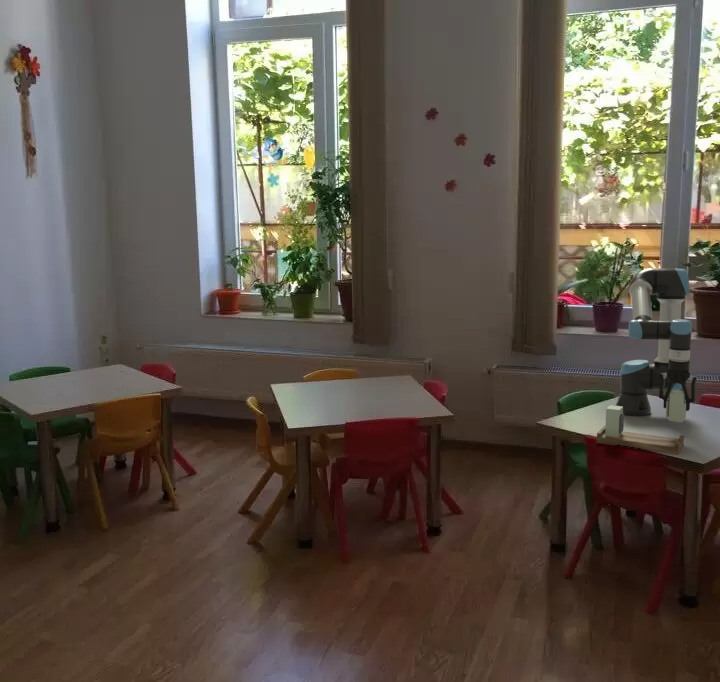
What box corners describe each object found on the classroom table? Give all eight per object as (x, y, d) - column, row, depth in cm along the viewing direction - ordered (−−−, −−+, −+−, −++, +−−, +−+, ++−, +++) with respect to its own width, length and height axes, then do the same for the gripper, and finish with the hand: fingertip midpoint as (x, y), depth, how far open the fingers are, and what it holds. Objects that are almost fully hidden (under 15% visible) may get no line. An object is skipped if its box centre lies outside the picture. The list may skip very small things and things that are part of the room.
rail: (604, 435, 306) (604, 425, 306) (683, 445, 291) (684, 435, 290) (596, 442, 296) (597, 433, 296) (678, 454, 281) (678, 444, 280)
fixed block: (609, 431, 302) (610, 405, 300) (623, 433, 299) (624, 406, 297) (605, 435, 297) (606, 408, 295) (619, 437, 294) (621, 410, 292)
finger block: (669, 416, 300) (671, 389, 298) (684, 418, 297) (686, 391, 295) (666, 420, 295) (668, 393, 293) (682, 422, 292) (683, 395, 290)
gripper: (651, 359, 293) (649, 416, 298) (703, 363, 284) (700, 423, 288) (655, 355, 299) (652, 411, 304) (706, 360, 290) (703, 418, 294)
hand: (675, 417), depth 296 cm, fingers closed on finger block, 6 cm apart
